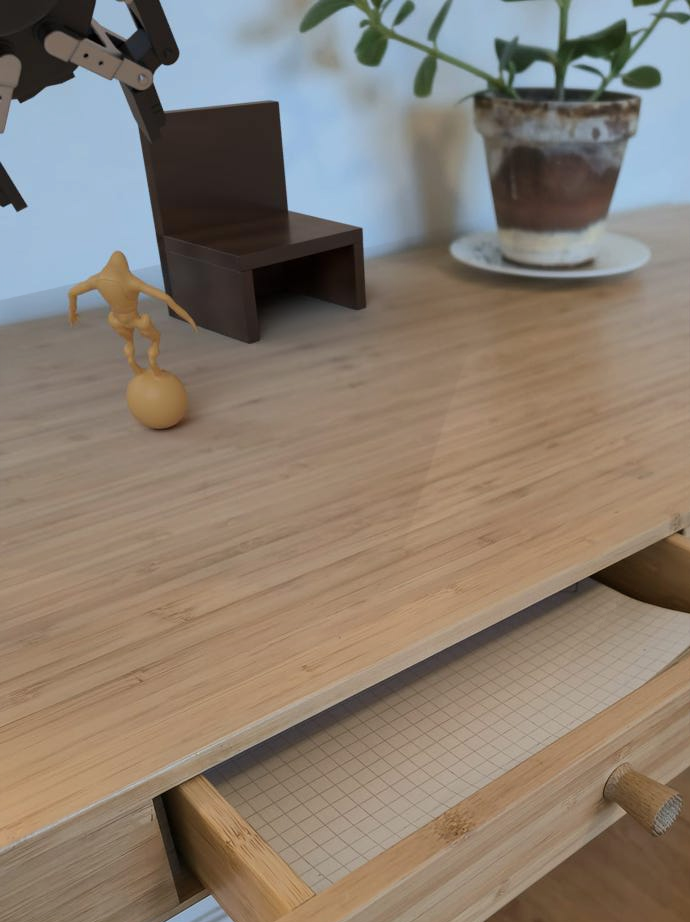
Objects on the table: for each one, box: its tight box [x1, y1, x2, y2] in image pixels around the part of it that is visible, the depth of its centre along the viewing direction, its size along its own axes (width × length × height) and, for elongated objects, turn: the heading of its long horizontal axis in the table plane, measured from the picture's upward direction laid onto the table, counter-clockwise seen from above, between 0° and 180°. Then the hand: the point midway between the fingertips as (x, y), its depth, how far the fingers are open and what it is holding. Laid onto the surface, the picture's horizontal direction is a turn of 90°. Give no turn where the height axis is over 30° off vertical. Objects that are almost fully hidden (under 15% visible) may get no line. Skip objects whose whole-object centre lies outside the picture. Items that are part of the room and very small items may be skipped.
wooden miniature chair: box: [137, 99, 367, 344], centre depth 83 cm, size 11×14×16 cm
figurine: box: [67, 250, 200, 430], centre depth 62 cm, size 8×6×12 cm
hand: (83, 165), depth 54 cm, fingers open, 8 cm apart
